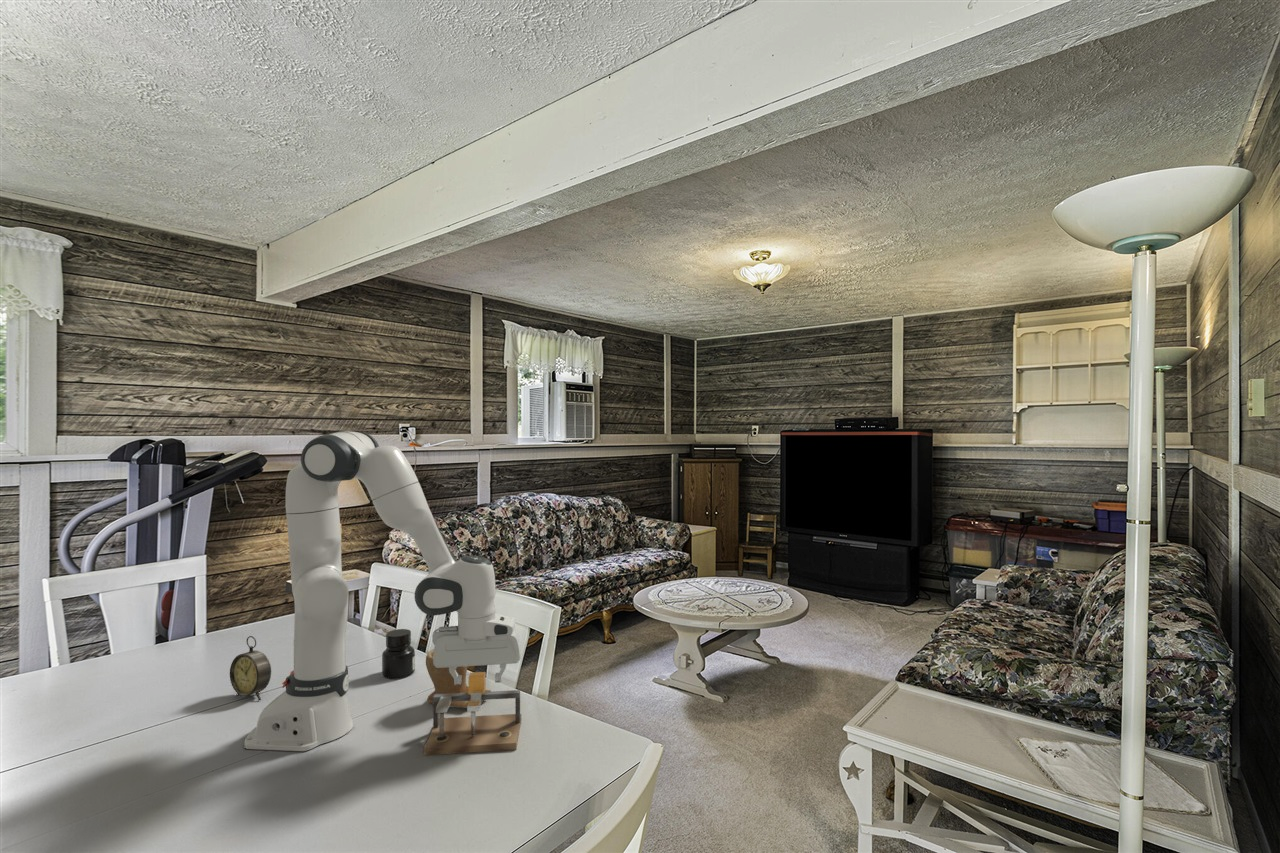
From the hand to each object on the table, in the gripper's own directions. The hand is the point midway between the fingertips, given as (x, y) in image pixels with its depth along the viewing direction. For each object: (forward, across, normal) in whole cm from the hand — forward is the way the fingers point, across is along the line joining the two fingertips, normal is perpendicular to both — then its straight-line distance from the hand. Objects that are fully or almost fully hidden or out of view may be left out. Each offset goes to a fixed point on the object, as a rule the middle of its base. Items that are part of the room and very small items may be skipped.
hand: (478, 682), depth 146 cm
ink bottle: (+11, -28, +37) cm, 48 cm away
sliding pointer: (+9, 0, -3) cm, 10 cm away
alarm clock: (+11, -64, +26) cm, 69 cm away
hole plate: (+11, 0, -3) cm, 12 cm away
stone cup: (+12, -8, +15) cm, 21 cm away
